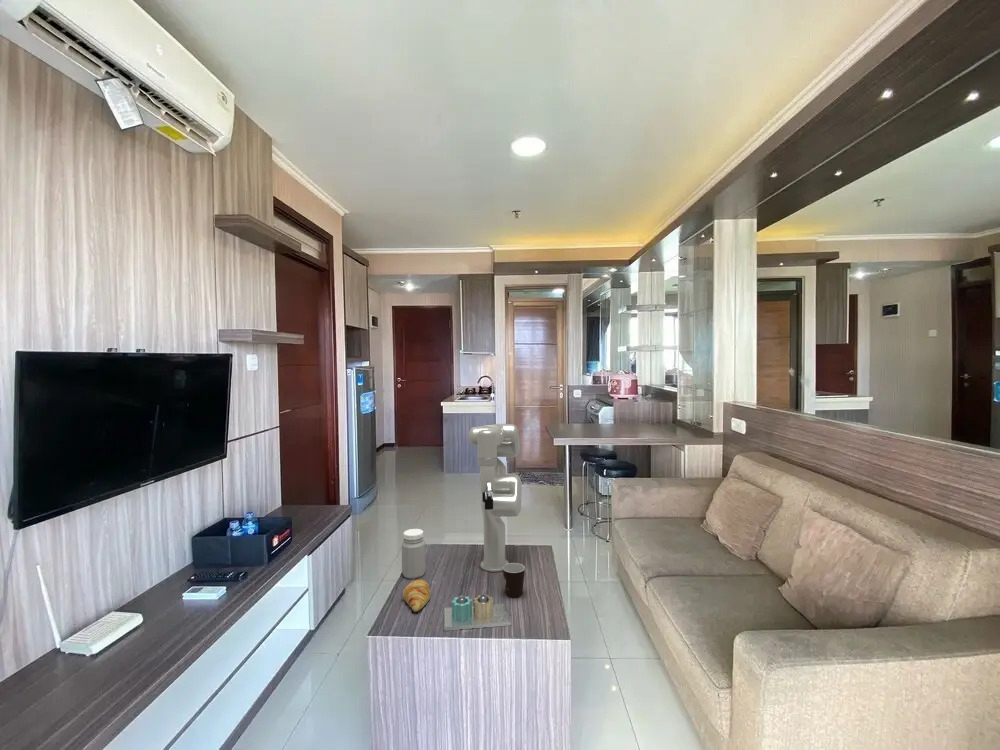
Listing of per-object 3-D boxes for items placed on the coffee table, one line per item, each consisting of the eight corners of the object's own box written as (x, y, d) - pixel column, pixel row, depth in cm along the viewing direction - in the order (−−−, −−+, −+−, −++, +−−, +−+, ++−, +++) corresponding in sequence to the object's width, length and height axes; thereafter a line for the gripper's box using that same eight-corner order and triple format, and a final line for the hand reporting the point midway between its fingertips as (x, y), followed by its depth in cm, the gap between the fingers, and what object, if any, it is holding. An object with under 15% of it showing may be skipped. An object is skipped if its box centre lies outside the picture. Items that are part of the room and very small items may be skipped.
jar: (416, 567, 188) (416, 526, 188) (430, 574, 181) (429, 531, 181) (397, 574, 181) (397, 532, 181) (410, 582, 174) (410, 538, 174)
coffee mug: (523, 600, 159) (523, 573, 159) (500, 598, 160) (500, 571, 160) (527, 585, 170) (527, 560, 170) (506, 583, 172) (506, 559, 172)
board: (444, 611, 152) (444, 590, 152) (505, 606, 155) (505, 586, 155) (444, 630, 140) (444, 608, 140) (510, 625, 143) (510, 603, 143)
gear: (451, 610, 150) (451, 596, 150) (471, 609, 151) (471, 594, 151) (452, 621, 143) (451, 606, 143) (472, 619, 144) (472, 605, 144)
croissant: (424, 623, 150) (435, 602, 151) (398, 613, 149) (409, 592, 149) (423, 592, 171) (433, 574, 172) (401, 583, 170) (410, 565, 170)
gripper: (476, 457, 175) (476, 499, 174) (479, 466, 157) (479, 512, 157) (494, 457, 175) (494, 499, 175) (499, 465, 158) (500, 511, 158)
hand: (487, 505), depth 166 cm, fingers open, 9 cm apart
